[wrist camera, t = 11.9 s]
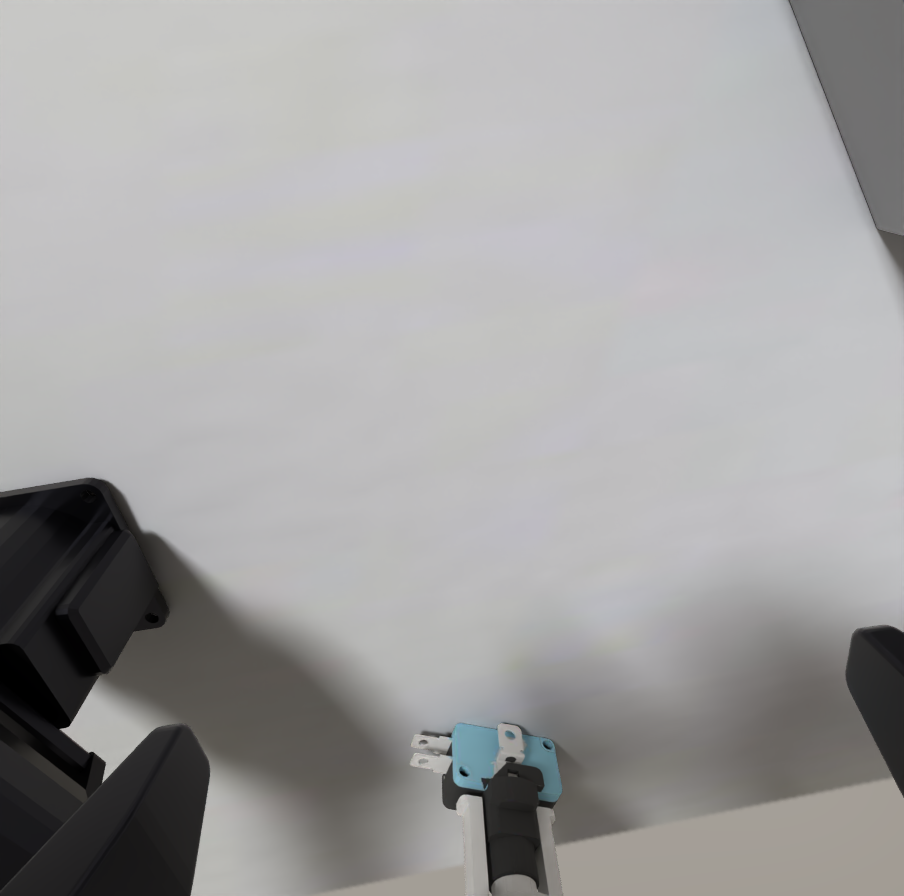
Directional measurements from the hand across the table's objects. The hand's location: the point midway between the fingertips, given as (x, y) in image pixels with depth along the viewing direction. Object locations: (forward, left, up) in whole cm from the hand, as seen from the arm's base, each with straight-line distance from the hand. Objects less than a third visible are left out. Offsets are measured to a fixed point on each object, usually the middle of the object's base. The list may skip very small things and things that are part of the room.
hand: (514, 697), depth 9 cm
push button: (-2, -18, -13) cm, 22 cm away
